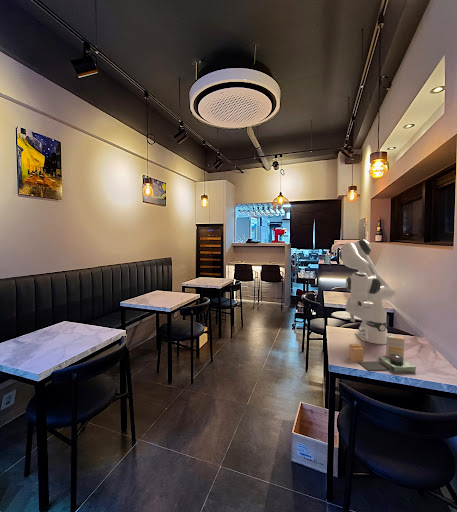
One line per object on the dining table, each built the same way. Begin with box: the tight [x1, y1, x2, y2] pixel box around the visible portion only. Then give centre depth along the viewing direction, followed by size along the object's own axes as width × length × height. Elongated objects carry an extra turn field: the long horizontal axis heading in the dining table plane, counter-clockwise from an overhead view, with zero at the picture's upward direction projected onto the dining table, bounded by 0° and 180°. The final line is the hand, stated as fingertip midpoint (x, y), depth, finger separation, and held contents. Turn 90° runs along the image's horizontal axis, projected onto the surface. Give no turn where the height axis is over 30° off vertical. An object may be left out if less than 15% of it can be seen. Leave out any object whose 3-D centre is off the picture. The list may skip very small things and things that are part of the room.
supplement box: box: [385, 334, 406, 360], centre depth 146 cm, size 8×5×13 cm, turn 66°
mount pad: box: [357, 360, 389, 372], centre depth 136 cm, size 9×11×1 cm
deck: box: [377, 354, 417, 374], centre depth 136 cm, size 12×12×6 cm
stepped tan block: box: [348, 343, 365, 362], centre depth 144 cm, size 4×6×8 cm
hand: (357, 324), depth 143 cm, fingers open, 8 cm apart
